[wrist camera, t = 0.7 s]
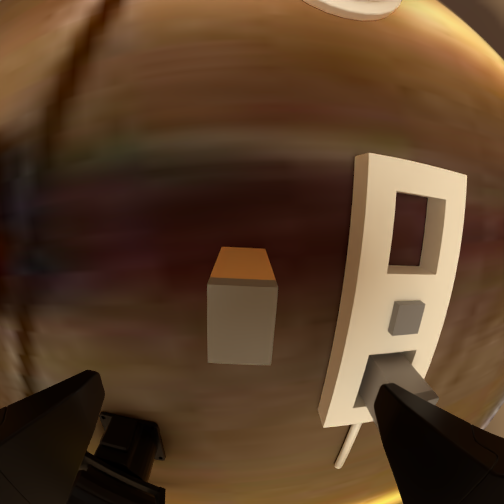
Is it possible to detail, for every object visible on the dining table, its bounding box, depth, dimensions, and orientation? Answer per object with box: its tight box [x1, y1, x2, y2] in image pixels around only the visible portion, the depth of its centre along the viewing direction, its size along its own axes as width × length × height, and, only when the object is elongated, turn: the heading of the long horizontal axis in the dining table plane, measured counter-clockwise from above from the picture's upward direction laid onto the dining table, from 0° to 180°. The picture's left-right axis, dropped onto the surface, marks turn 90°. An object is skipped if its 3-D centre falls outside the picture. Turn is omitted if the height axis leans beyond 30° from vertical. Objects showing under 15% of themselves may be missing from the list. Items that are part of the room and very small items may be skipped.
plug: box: [207, 247, 278, 365], centre depth 16 cm, size 4×3×8 cm
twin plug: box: [358, 352, 439, 432], centre depth 19 cm, size 4×3×8 cm
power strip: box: [318, 153, 467, 469], centre depth 21 cm, size 32×9×3 cm, turn 177°
